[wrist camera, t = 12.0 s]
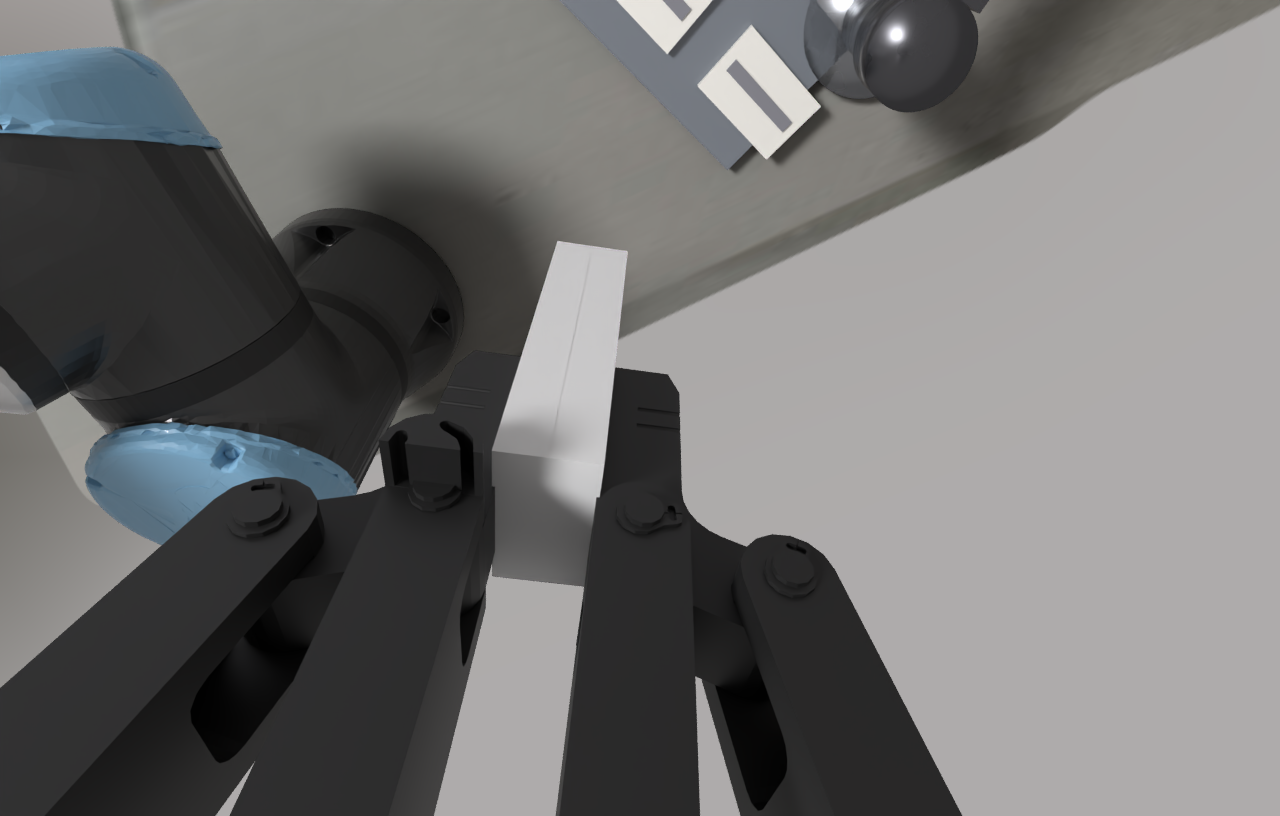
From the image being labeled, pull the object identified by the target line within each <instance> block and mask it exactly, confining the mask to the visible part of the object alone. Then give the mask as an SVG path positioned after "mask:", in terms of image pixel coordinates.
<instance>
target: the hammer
mask: <svg viewBox="0 0 1280 816" xmlns="http://www.w3.org/2000/svg"><path fill="white" fill-rule="evenodd" d="M988 1H989V0H879V1H878V2H877V3H876V4H875V5H874V6H873V7H872V8H871V9H870V10H869V12H868V13H867V14H866V16H865V17H864V19H863V21H862V22H861V24H860V26H859V29H858V31H857V34H856V37H855V40H854V46H853V63H854V68H855V71H856V74H857V76H858V78H859V80H860V81H861V83H862V84H863V85H864V86H865V87H866V88H867V89H868V90H869V91H870V92H871V93H872V94H873V95H874V96H875V97H876V98H877V99H878V100H879V101H880V102H881V103H882V104H884V105H885V106H886V107H888V108H890V109H893V110H896V111H900V112H917V111H921V110H925V109H928V108H930V107H933V106H935V105H936V104H938V103H940V102H941V101H943V100H944V99H946V98H947V97H948V96H949V95H951V94H952V93H953V92H954V91H955V90H956V89H957V88H958V87H959V85H960V84H961V83H962V82H963V80H964V79H965V77H966V76H967V74H968V72H969V70H970V68H971V66H972V64H973V61H974V59H975V55H976V51H977V45H978V29H977V24H976V21H975V18H974V16H973V14H972V12H971V10H972V11H975V12H977V13H980V12H981V11H982V9H983V8H984V7H985V5H986V4H987V2H988Z"/></svg>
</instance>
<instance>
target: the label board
mask: <svg viewBox="0 0 1280 816" xmlns="http://www.w3.org/2000/svg"><path fill="white" fill-rule="evenodd" d="M560 1H561V2H562V3H563V4H564V5H565V6H566V7H567V8H568V9H569V10H570V11H571V12H572V13H573V14H574V15H575V16H576V17H577V18H578V20H579V21H580V22H581V23H582V24H583V25H584V26H585V27H586V28H587V29H588V30H589V31H590V32H591V33H592V34H593V35H594V36H595V37H596V38H597V39H598V40H599V41H600V42H601V43H602V44H603V45H604V46H605V47H606V48H607V49H608V50H609V51H610V52H611V53H612V54H613V55H614V56H615V57H616V58H617V59H618V60H619V61H620V62H621V63H622V64H623V65H624V66H625V67H626V68H627V69H628V70H629V71H630V72H631V73H632V74H633V75H634V76H635V77H636V78H637V79H638V80H639V81H640V82H641V83H642V84H643V85H644V86H645V87H646V88H647V89H648V90H649V91H650V92H651V93H652V94H653V95H654V96H655V97H656V98H657V99H658V101H659V102H660V103H661V104H662V105H663V106H664V107H665V108H666V109H667V110H668V111H669V112H670V113H671V114H672V115H673V116H674V117H675V118H676V119H677V120H678V121H679V122H680V123H681V124H682V125H683V126H684V127H685V128H686V129H687V130H688V131H689V132H690V133H691V134H692V135H693V136H694V137H695V138H696V139H697V140H698V141H699V142H700V143H701V144H702V145H703V146H704V147H705V148H706V149H707V150H708V151H709V152H710V153H711V154H712V155H713V156H714V157H715V158H716V159H717V160H718V161H719V162H720V163H721V164H722V165H723V166H724V167H725V168H726V169H727V170H728V169H729V168H730V167H731V166H732V165H733V164H734V163H735V162H736V161H737V160H738V159H739V158H740V157H741V156H742V155H743V154H744V153H745V152H746V151H747V150H748V149H749V148H750V147H751V146H752V145H753V146H754V147H755V148H756V149H757V150H758V151H759V152H760V153H761V154H762V155H763V156H764V157H765V158H766V160H767V159H768V158H769V157H770V156H771V155H772V154H773V153H774V152H775V151H776V150H777V149H778V148H779V147H780V146H781V145H782V144H783V143H784V142H785V141H786V140H787V139H788V138H789V137H790V136H791V135H792V134H793V133H794V132H795V131H796V130H797V129H798V128H799V127H801V126H802V125H803V124H804V123H805V122H806V121H807V120H808V119H809V118H810V117H811V116H812V115H813V114H814V113H815V112H816V111H817V110H818V109H819V108H820V107H821V106H820V104H819V103H818V102H817V101H816V100H815V99H814V97H813V96H812V95H811V94H810V93H809V92H808V89H809V88H810V87H811V86H812V85H813V84H814V83H815V82H816V81H817V80H818V79H819V78H818V79H817V78H816V76H815V75H814V74H813V72H812V70H811V68H812V69H814V70H813V71H814V72H815V70H817V69H818V70H819V73H816V75H819V77H821V76H820V74H821V75H823V74H824V73H825V72H826V71H827V70H828V68H830V67H831V66H832V65H833V64H834V63H835V62H836V61H834V60H836V59H837V58H835V59H834V60H833V58H834V57H836V56H835V55H838V54H835V49H836V50H838V49H837V48H838V47H837V46H838V45H839V44H837V46H836V44H835V43H837V42H836V41H837V40H838V39H839V35H840V34H838V32H837V31H838V30H836V29H835V27H834V23H833V21H830V20H831V19H827V18H828V17H829V16H828V15H827V16H825V17H824V15H823V14H825V15H826V12H825V11H824V10H823V9H822V8H821V7H820V6H819V5H818V3H817V1H816V0H560ZM812 1H814V2H812ZM811 3H812V4H813V3H814V4H815V5H818V6H814V5H813V6H812V4H811ZM811 6H812V7H811ZM814 7H815V8H814ZM819 7H820V8H819ZM808 8H809V9H808ZM810 8H811V9H810ZM812 9H813V10H812ZM814 9H816V11H815V10H814ZM819 9H820V10H821V9H822V10H821V11H822V12H821V11H820V10H819ZM808 10H809V11H810V10H811V12H809V11H808ZM817 10H819V11H818V13H820V16H821V15H822V16H823V17H822V16H821V17H820V20H817V19H816V18H817V17H819V14H818V13H817ZM807 11H808V14H806V13H807ZM813 11H814V12H813ZM823 12H824V13H823ZM813 13H814V15H815V16H814V15H813ZM811 14H812V15H811ZM816 14H817V15H816ZM809 15H810V16H809ZM812 16H814V17H815V20H813V19H814V18H813V17H812ZM816 16H817V17H816ZM809 17H810V18H811V19H810V18H809ZM826 17H827V18H826ZM812 18H813V19H812ZM823 18H825V20H824V19H823ZM806 19H807V20H806ZM809 19H810V20H809ZM818 19H819V18H818ZM826 19H827V20H826ZM811 20H812V21H811ZM821 20H824V21H828V22H829V21H830V23H828V22H825V23H827V24H829V25H827V24H826V25H827V26H826V25H825V23H824V21H822V22H823V23H822V22H821ZM805 21H809V22H807V24H806V22H805ZM810 21H811V22H810ZM819 21H820V22H821V23H820V22H819ZM816 22H819V23H820V25H821V26H820V28H819V25H818V24H819V23H816ZM808 23H809V24H811V25H810V26H811V27H810V26H808V25H809V24H808ZM813 23H815V24H814V26H813ZM805 24H806V25H805ZM823 24H824V25H823ZM822 25H823V26H822ZM830 25H832V26H830ZM805 26H806V27H807V28H806V27H805ZM812 26H813V27H815V28H812ZM816 26H818V27H816ZM828 26H829V27H828ZM835 26H836V25H835ZM808 27H809V28H808ZM821 27H822V28H821ZM825 27H826V28H825ZM831 27H832V28H831ZM836 27H837V26H836ZM804 28H806V31H804V30H805V29H804ZM810 28H811V31H810V30H809V29H810ZM816 28H817V29H816ZM824 28H825V29H824ZM829 28H830V29H829ZM812 29H813V30H812ZM819 29H820V31H821V30H822V31H821V33H822V32H823V33H826V34H825V35H824V34H823V33H822V34H823V35H821V36H820V34H821V33H820V31H819ZM826 29H827V30H826ZM828 29H829V30H828ZM831 29H832V30H831ZM837 29H838V28H837ZM816 30H818V31H819V32H818V31H817V32H816ZM825 30H826V31H827V32H826V31H825ZM833 30H834V32H835V31H836V33H834V32H833ZM807 31H809V32H807ZM814 31H815V32H814ZM830 31H831V32H830ZM839 31H840V30H839ZM804 32H805V33H804ZM811 32H813V33H814V34H813V33H811ZM828 32H830V33H828ZM832 32H833V33H834V34H835V35H837V34H838V35H837V36H836V37H835V35H834V34H833V33H832ZM807 33H808V34H807ZM819 33H820V34H819ZM831 33H832V34H831ZM839 33H840V32H839ZM806 34H807V35H806ZM815 34H817V35H815ZM828 34H830V35H828ZM841 34H842V33H841ZM808 35H809V36H808ZM813 35H815V36H813ZM804 36H806V37H804ZM817 36H819V38H818V37H817ZM825 36H826V37H827V38H828V37H829V39H830V41H829V39H828V40H825V39H826V37H825ZM831 36H832V37H831ZM840 36H841V35H840ZM810 37H811V39H810ZM815 37H817V39H815ZM820 37H821V38H822V39H821V38H820ZM837 37H838V39H837ZM805 38H806V39H807V40H808V39H809V40H808V44H806V43H807V40H806V39H805ZM834 38H835V39H836V40H834ZM840 38H841V37H840ZM813 39H815V40H814V41H811V43H810V40H813ZM819 39H820V40H819ZM841 39H842V38H841ZM804 40H805V41H804ZM816 40H817V41H816ZM821 40H823V41H821ZM833 40H834V41H835V43H834V41H833ZM819 41H820V42H819ZM828 41H829V42H828ZM831 41H833V42H831ZM839 41H840V42H841V43H842V42H843V39H842V41H841V40H839ZM804 42H806V43H804ZM823 42H824V43H823ZM840 42H838V43H840ZM813 43H814V44H813ZM816 43H817V44H818V45H817V44H816ZM820 43H822V44H823V45H822V44H820ZM829 43H830V45H832V48H831V46H830V45H829ZM831 43H832V44H831ZM843 43H844V42H843ZM843 43H842V45H844V44H843ZM810 44H811V45H810ZM824 44H826V45H827V46H825V45H824ZM834 44H835V45H834ZM804 45H805V47H806V48H807V49H808V48H809V49H808V50H809V51H811V50H810V49H812V51H811V52H809V51H808V50H807V49H806V48H805V47H804ZM806 45H808V46H806ZM813 45H814V46H817V47H816V48H817V49H815V47H814V46H813ZM821 45H822V46H821ZM842 45H839V48H840V46H842ZM833 46H834V47H835V48H834V47H833ZM844 46H845V45H844ZM844 46H842V47H841V50H842V49H843V47H844ZM810 47H812V48H810ZM818 47H820V48H818ZM821 47H822V48H823V49H824V50H823V49H822V48H821ZM826 47H827V51H826ZM836 47H837V48H836ZM828 48H830V49H831V51H832V52H831V51H830V49H829V50H828ZM806 50H807V52H808V53H809V55H810V54H811V53H812V52H813V51H814V52H813V53H814V54H813V53H812V54H811V57H810V56H809V55H808V53H807V52H806ZM816 50H818V51H816ZM822 50H823V51H824V52H823V51H822ZM833 50H834V52H833ZM839 50H840V49H839ZM841 50H840V51H841ZM815 51H816V52H817V53H816V52H815ZM821 51H822V52H821ZM840 51H839V52H837V53H840ZM843 51H844V50H842V52H843ZM846 51H847V50H846ZM846 51H844V52H846ZM818 52H820V54H818ZM827 52H829V53H827ZM805 53H807V54H805ZM815 53H816V55H815ZM821 53H824V54H825V53H826V54H825V55H824V54H821ZM830 53H831V54H832V53H833V54H834V55H833V54H832V56H831V54H830ZM827 54H828V55H829V56H828V55H827ZM841 54H842V53H840V54H839V55H841ZM807 55H808V56H807ZM839 55H838V57H839ZM806 56H807V57H806ZM815 56H816V57H815ZM820 56H821V57H820ZM823 56H824V57H823ZM808 57H810V58H811V60H812V59H813V60H812V61H810V58H808ZM812 57H813V58H812ZM817 57H818V58H817ZM826 57H827V58H826ZM816 58H817V59H816ZM821 58H823V60H822V59H821ZM828 58H831V60H830V59H829V60H828ZM839 58H840V57H839ZM839 58H838V59H839ZM807 59H809V61H808V60H807ZM815 59H816V60H815ZM838 59H837V60H838ZM814 60H815V61H816V62H815V61H814ZM818 60H819V61H818ZM827 60H828V61H827ZM823 61H824V62H823ZM831 61H833V62H831ZM808 62H809V64H808ZM810 62H811V64H810ZM812 62H814V64H813V63H812ZM817 62H818V63H817ZM821 62H822V64H821ZM827 62H828V63H827ZM825 63H826V65H827V66H826V65H825ZM830 63H831V65H830ZM815 64H816V65H815ZM828 64H829V66H830V67H829V66H828ZM814 65H815V66H816V67H815V66H814ZM819 65H821V66H822V67H821V66H819ZM810 66H811V68H810ZM813 67H815V68H813ZM818 67H819V68H821V69H819V68H818ZM824 67H825V68H827V67H828V68H827V69H826V70H825V68H824ZM816 68H817V69H816ZM822 68H823V69H824V71H825V72H824V71H823V69H822ZM820 70H821V71H820ZM816 72H818V71H816ZM821 72H822V73H821Z"/></svg>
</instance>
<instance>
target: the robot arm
mask: <svg viewBox="0 0 1280 816" xmlns="http://www.w3.org/2000/svg"><path fill="white" fill-rule="evenodd" d="M221 148H223V147H222V146H221V144H220V142H219V141H218V140H217V138H215V137H213V136H211V135H210V134H209V132H208V131H207V129H206V128H205V126H204V125H203V123H202V122H201V121H200V119H199V118H198V116H197V115H196V113H195V112H194V110H193V109H192V107H191V105H190V104H189V102H188V101H187V99H186V98H185V96H184V95H183V93H182V91H181V90H180V88H179V87H178V85H177V84H176V82H175V81H174V80H173V78H172V77H171V76H170V74H169V73H168V72H167V71H166V70H165V69H164V68H163V67H161V66H160V65H159V64H158V63H157V62H155V61H153V60H152V59H150V58H149V57H147V56H145V55H143V54H140V53H138V52H136V51H133V50H129V49H124V48H118V47H96V48H80V49H67V50H56V51H45V52H35V53H25V54H16V55H7V56H0V412H4V413H15V414H28V413H31V412H33V411H36V410H38V409H40V408H41V407H43V406H45V405H47V404H49V403H50V402H52V401H54V400H56V399H58V398H59V397H61V396H63V395H65V394H67V393H68V392H70V394H71V395H72V396H74V397H75V398H76V399H77V400H78V402H79V403H80V404H81V405H82V406H83V407H84V408H85V409H86V410H87V411H88V412H89V413H90V414H91V415H92V417H93V418H94V419H95V420H96V421H97V422H98V423H99V424H100V425H101V426H102V427H103V428H104V430H105V431H106V433H107V435H104V436H102V437H101V438H100V439H99V440H98V441H97V442H95V443H94V446H93V447H92V448H91V449H90V456H89V458H88V460H87V462H86V464H85V472H86V475H87V477H86V481H85V482H86V485H87V488H88V490H89V492H90V494H91V495H92V497H93V498H94V500H95V501H96V502H97V503H98V504H99V505H100V507H101V508H102V509H103V510H105V511H106V512H107V513H108V514H109V515H110V516H111V517H113V518H114V519H115V520H117V521H118V522H119V523H121V524H122V525H124V526H125V527H127V528H128V529H130V530H132V531H133V532H135V533H137V534H139V535H141V536H143V537H145V538H147V539H149V540H151V541H153V542H156V543H158V544H160V545H162V546H161V547H159V548H158V549H157V550H156V551H155V552H154V553H153V554H151V555H150V556H149V557H148V558H147V559H146V560H145V561H144V562H143V563H141V564H140V565H139V566H138V567H137V568H136V569H135V570H133V571H132V572H131V573H130V574H129V575H128V576H127V577H125V578H124V579H123V580H122V581H121V582H120V583H119V584H118V585H116V586H115V587H114V588H113V589H112V590H111V591H110V592H108V593H107V594H106V595H105V596H104V597H103V598H102V599H101V600H100V601H98V602H97V603H96V604H95V605H94V606H93V607H92V608H90V610H88V611H87V612H86V613H85V614H84V615H82V616H81V617H80V618H79V619H78V620H77V621H76V622H75V623H74V624H72V625H71V626H70V627H69V628H68V629H67V630H66V631H64V632H63V633H62V634H61V635H60V636H59V637H58V638H56V639H55V640H54V641H53V642H52V643H51V644H50V645H48V646H47V647H46V648H45V649H44V650H43V651H42V652H41V653H40V654H39V655H37V656H36V657H35V658H34V659H33V660H32V661H30V662H29V663H28V664H27V665H26V666H25V667H24V668H23V669H21V670H20V671H19V672H18V673H17V674H16V675H15V676H14V677H12V678H11V679H10V680H9V681H8V682H7V683H5V684H4V685H3V686H2V687H1V688H0V816H215V815H216V814H217V813H218V811H219V810H220V808H221V807H222V806H223V804H224V803H225V802H226V800H227V798H228V797H229V796H230V795H231V793H232V792H233V791H234V789H235V788H236V787H237V785H238V784H239V782H240V781H241V780H242V778H243V777H244V775H245V774H246V773H247V771H248V770H249V769H250V767H251V766H252V764H253V763H254V762H255V763H254V765H253V767H252V769H251V772H250V774H249V776H248V778H247V780H246V782H245V784H244V786H243V789H242V790H241V793H240V795H239V797H238V799H237V801H236V803H235V805H234V807H233V810H232V812H231V814H230V816H434V812H435V808H436V804H437V800H438V796H439V792H440V788H441V784H442V780H443V776H444V772H445V768H446V764H447V760H448V756H449V752H450V748H451V744H452V740H453V736H454V732H455V728H456V724H457V720H458V716H459V712H460V708H461V704H462V700H463V696H464V692H465V688H466V684H467V680H468V676H469V672H470V668H471V664H472V660H473V656H474V652H475V649H476V645H477V641H478V636H479V633H480V629H481V625H482V621H483V616H484V612H485V608H486V584H487V580H488V576H489V572H490V568H491V565H492V576H495V577H503V578H513V579H521V580H530V581H539V582H549V583H557V584H566V585H574V586H583V587H584V593H583V602H582V609H581V615H580V622H579V629H578V636H577V643H576V646H577V647H576V655H575V664H574V671H573V680H572V688H571V696H570V704H569V713H568V720H567V728H566V736H565V745H564V753H563V761H562V770H561V777H560V785H559V793H558V803H557V811H556V816H700V803H699V773H698V743H697V714H696V684H695V676H696V677H698V678H701V679H702V683H703V686H704V689H705V693H706V696H707V700H708V703H709V707H710V711H711V714H712V718H713V721H714V725H715V728H716V731H717V735H718V739H719V742H720V745H721V749H722V753H723V756H724V760H725V763H726V766H727V769H728V773H729V777H730V780H731V784H732V787H733V791H734V794H735V798H736V801H737V805H738V808H739V812H740V815H741V816H962V815H961V812H960V811H959V809H958V807H957V805H956V803H955V801H954V799H953V797H952V795H951V793H950V791H949V789H948V787H947V785H946V784H945V782H944V780H943V778H942V776H941V774H940V772H939V770H938V768H937V766H936V764H935V762H934V760H933V758H932V757H931V755H930V753H929V751H928V749H927V747H926V745H925V743H924V741H923V739H922V737H921V735H920V733H919V731H918V729H917V727H916V726H915V724H914V722H913V720H912V718H911V716H910V714H909V712H908V710H907V708H906V706H905V704H904V703H903V700H902V699H901V697H900V695H899V693H898V691H897V689H896V687H895V685H894V683H893V681H892V679H891V677H890V675H889V673H888V672H887V669H886V668H885V666H884V664H883V662H882V660H881V658H880V656H879V654H878V652H877V650H876V648H875V646H874V644H873V642H872V640H871V639H870V637H869V635H868V633H867V631H866V629H865V627H864V625H863V623H862V621H861V619H860V617H859V615H858V613H857V612H856V610H855V608H854V606H853V604H852V602H851V600H850V598H849V596H848V595H847V592H846V590H845V588H844V586H843V584H842V583H841V581H840V579H839V577H838V575H837V573H836V571H835V569H834V568H833V567H832V565H831V564H830V563H829V561H828V560H827V558H826V557H825V556H824V555H823V554H822V553H821V552H819V551H818V550H817V549H815V548H814V547H813V546H811V545H810V544H809V543H807V542H804V541H801V540H799V539H796V538H794V537H791V536H783V535H773V534H772V535H768V536H764V537H761V538H757V539H756V540H754V541H753V542H752V543H751V544H750V545H748V546H747V547H746V546H743V545H740V544H738V543H735V542H733V541H731V540H728V539H726V538H723V537H720V536H719V535H717V534H715V533H713V532H711V531H709V530H707V529H706V528H705V527H703V526H702V525H701V524H700V523H698V522H697V521H696V520H695V519H694V517H693V516H692V515H691V514H690V513H689V511H688V509H687V507H686V506H685V503H684V501H683V496H682V485H681V444H680V417H679V413H680V405H679V392H678V391H677V389H676V387H675V386H674V384H673V382H672V381H671V379H670V378H669V376H668V375H667V374H660V373H652V372H645V371H638V370H630V369H623V368H615V363H616V354H617V344H618V335H619V326H620V317H621V308H622V299H623V290H624V280H625V271H626V262H627V253H628V251H623V250H616V249H609V248H602V247H595V246H589V245H582V244H575V243H568V242H561V241H557V244H556V248H555V251H554V254H553V257H552V260H551V264H550V267H549V270H548V273H547V276H546V279H545V283H544V286H543V289H542V292H541V295H540V299H539V302H538V305H537V308H536V311H535V314H534V318H533V321H532V324H531V327H530V330H529V334H528V337H527V340H526V343H525V346H524V349H523V353H522V356H521V357H520V356H512V355H505V354H497V353H490V352H482V351H474V352H472V353H471V354H470V355H468V356H467V357H466V358H465V359H463V360H462V361H461V362H460V363H458V364H457V365H456V366H455V368H454V371H453V373H452V375H451V377H450V380H449V382H448V384H447V388H446V389H445V391H444V393H443V395H442V398H441V400H440V404H438V406H437V409H436V411H435V413H434V414H423V415H418V416H414V417H410V418H406V419H404V420H402V421H400V422H399V423H397V424H395V425H393V426H391V427H390V428H389V426H390V424H391V422H392V420H393V418H394V416H395V414H396V412H397V410H398V408H399V406H400V404H401V402H402V400H404V399H405V398H407V397H408V396H409V395H411V394H412V393H413V392H415V391H416V390H418V389H419V388H420V387H422V386H423V385H424V384H426V383H427V382H429V381H430V380H431V379H433V378H434V377H435V376H436V375H438V374H439V373H440V372H441V371H442V369H443V368H444V367H445V366H446V364H447V363H448V362H449V360H450V358H451V356H452V354H453V352H454V350H455V348H456V346H457V344H458V342H459V339H460V337H461V333H462V329H463V321H464V313H463V305H462V300H461V296H460V293H459V290H458V287H457V285H456V282H455V280H454V278H453V276H452V275H451V273H450V271H449V270H448V268H447V267H446V265H445V264H444V263H443V261H442V260H441V259H440V257H439V256H438V255H437V254H436V253H435V252H434V251H433V250H432V249H431V248H430V247H429V246H428V245H427V244H426V243H425V242H424V241H423V240H421V239H420V238H419V237H417V236H416V235H415V234H413V233H412V232H410V231H409V230H407V229H406V228H404V227H402V226H401V225H399V224H397V223H395V222H393V221H391V220H389V219H386V218H384V217H381V216H379V215H376V214H372V213H369V212H365V211H360V210H354V209H343V208H334V209H324V210H319V211H315V212H311V213H308V214H306V215H303V216H301V217H299V218H297V219H296V220H294V221H293V222H291V223H290V224H289V225H288V226H286V227H285V228H284V229H283V230H282V231H281V232H280V233H278V234H277V235H276V236H275V237H274V238H273V239H271V237H270V235H269V234H268V232H267V230H266V228H265V227H264V225H263V223H262V221H261V220H260V218H259V216H258V215H257V213H256V211H255V209H254V208H253V206H252V204H251V202H250V201H249V199H248V197H247V195H246V194H245V192H244V190H243V189H242V187H241V185H240V183H239V182H238V180H237V178H236V176H235V175H234V173H233V171H232V169H231V168H230V166H229V164H228V163H227V161H226V159H225V157H224V156H223V154H222V152H221V150H220V149H221ZM388 428H389V429H388ZM379 447H380V453H381V460H382V466H383V473H384V479H385V487H382V488H380V489H377V490H374V491H372V492H368V493H363V494H358V495H356V494H357V491H358V489H359V487H360V485H361V483H362V481H363V479H364V477H365V475H366V472H367V471H368V469H369V467H370V465H371V463H372V461H373V459H374V457H375V454H376V452H377V450H378V448H379ZM255 760H256V761H255Z"/></svg>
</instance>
